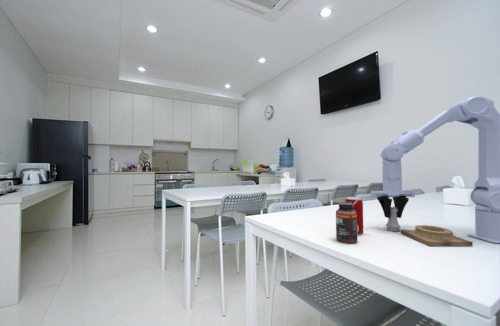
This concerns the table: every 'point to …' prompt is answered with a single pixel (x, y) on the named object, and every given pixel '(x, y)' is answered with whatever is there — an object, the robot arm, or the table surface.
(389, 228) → the rook chess piece
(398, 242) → the table surface
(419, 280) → the table surface
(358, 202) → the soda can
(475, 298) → the table surface
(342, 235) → the supplement bottle
